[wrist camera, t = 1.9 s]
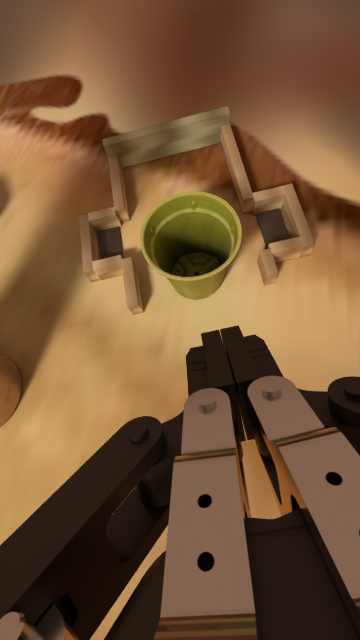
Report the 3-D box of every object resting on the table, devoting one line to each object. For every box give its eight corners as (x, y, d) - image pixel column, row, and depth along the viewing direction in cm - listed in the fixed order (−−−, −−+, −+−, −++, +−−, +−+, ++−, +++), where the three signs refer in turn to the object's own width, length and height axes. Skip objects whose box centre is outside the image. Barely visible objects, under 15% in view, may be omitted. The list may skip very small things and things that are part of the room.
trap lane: (95, 322, 37) (80, 310, 33) (81, 171, 45) (68, 148, 41) (316, 273, 35) (326, 255, 31) (260, 125, 43) (263, 96, 39)
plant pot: (239, 240, 38) (242, 188, 30) (238, 314, 35) (241, 280, 27) (162, 241, 39) (145, 192, 31) (155, 313, 36) (134, 279, 28)
